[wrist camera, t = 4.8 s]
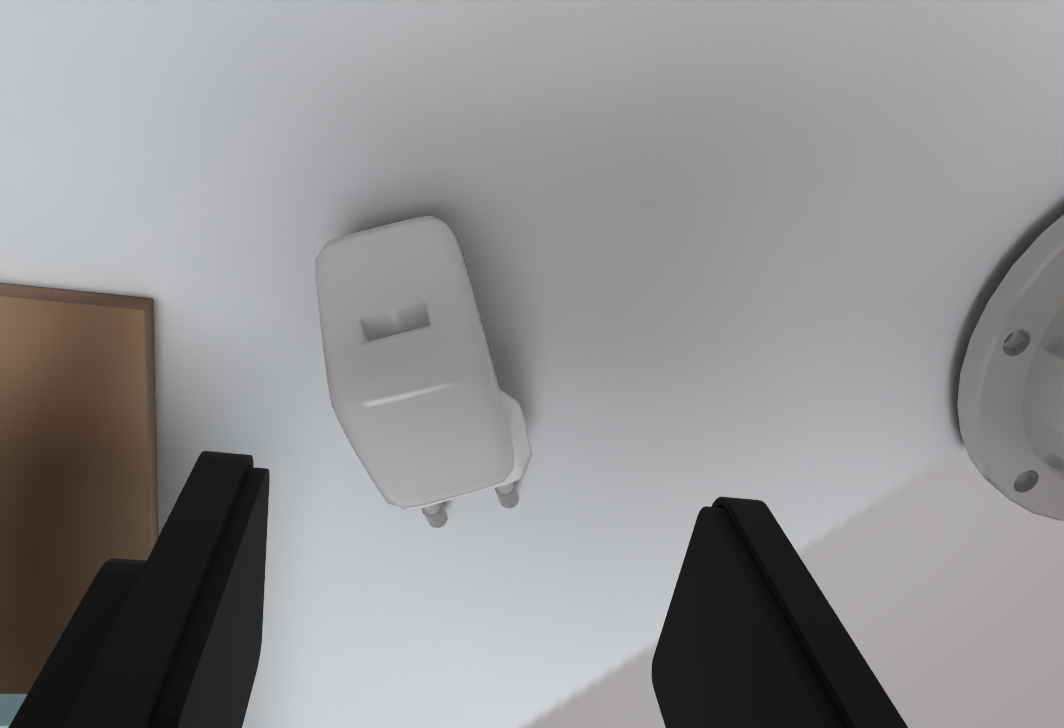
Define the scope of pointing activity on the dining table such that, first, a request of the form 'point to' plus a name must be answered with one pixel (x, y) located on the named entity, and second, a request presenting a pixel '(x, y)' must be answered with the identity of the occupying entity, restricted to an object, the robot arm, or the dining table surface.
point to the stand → (69, 458)
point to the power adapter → (416, 369)
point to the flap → (9, 707)
